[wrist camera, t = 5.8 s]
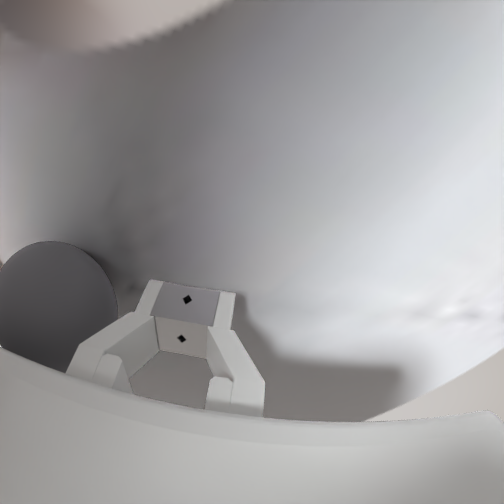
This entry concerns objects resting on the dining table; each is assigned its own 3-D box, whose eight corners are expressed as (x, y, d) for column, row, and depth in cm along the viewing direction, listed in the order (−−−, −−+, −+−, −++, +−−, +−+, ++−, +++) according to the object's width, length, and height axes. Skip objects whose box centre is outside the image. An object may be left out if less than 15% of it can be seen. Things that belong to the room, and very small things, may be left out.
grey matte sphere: (98, 299, 8) (74, 191, 11) (-36, 365, 6) (-30, 249, 9) (154, 368, 12) (117, 275, 15) (50, 413, 10) (31, 317, 13)
